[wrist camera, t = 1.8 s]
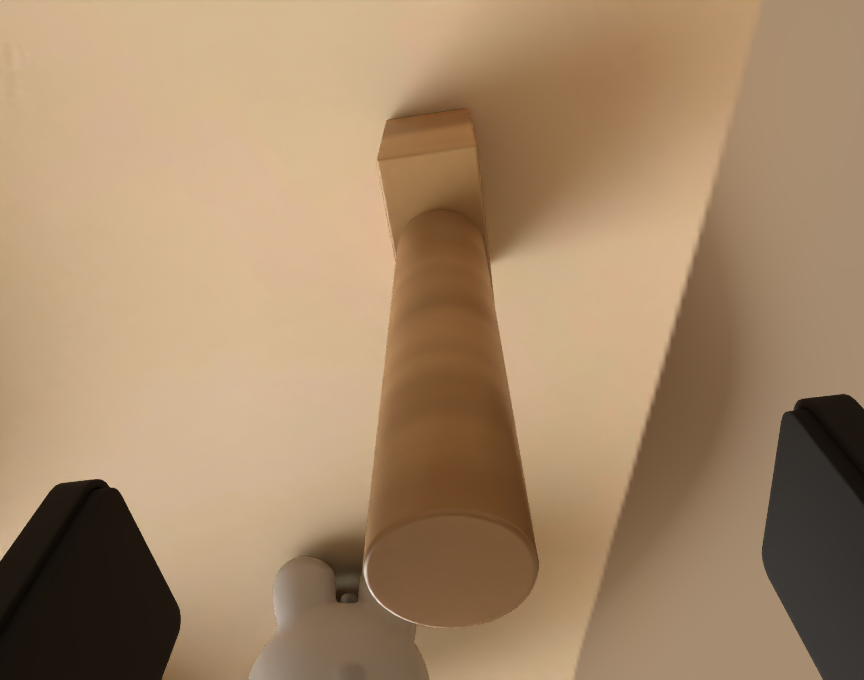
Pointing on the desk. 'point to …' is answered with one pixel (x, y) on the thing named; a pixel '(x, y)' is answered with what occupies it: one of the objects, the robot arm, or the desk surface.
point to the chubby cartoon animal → (334, 632)
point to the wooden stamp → (444, 397)
